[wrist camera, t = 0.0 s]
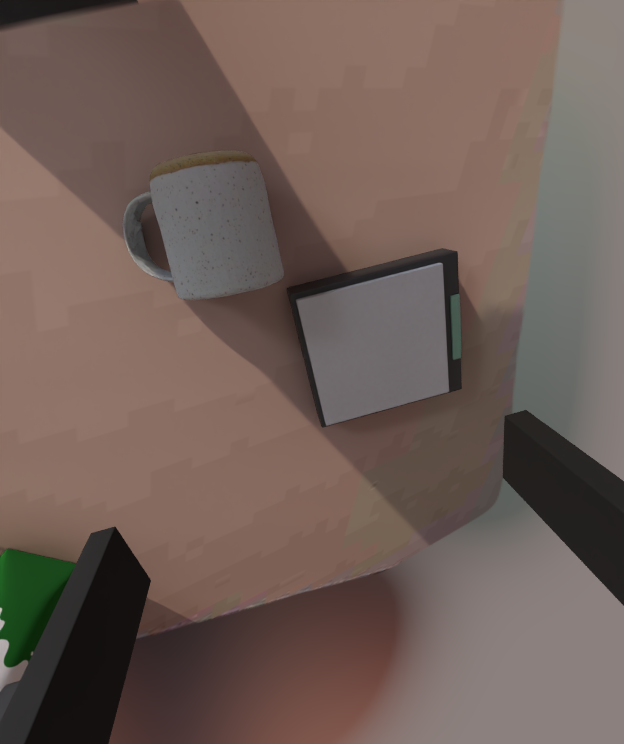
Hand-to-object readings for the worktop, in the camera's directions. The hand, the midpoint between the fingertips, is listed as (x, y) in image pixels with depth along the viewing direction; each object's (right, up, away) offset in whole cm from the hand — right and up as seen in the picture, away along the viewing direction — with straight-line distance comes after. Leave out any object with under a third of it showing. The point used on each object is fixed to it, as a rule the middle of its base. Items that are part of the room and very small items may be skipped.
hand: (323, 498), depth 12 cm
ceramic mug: (-9, +15, +16) cm, 23 cm away
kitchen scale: (+6, +8, +21) cm, 23 cm away
